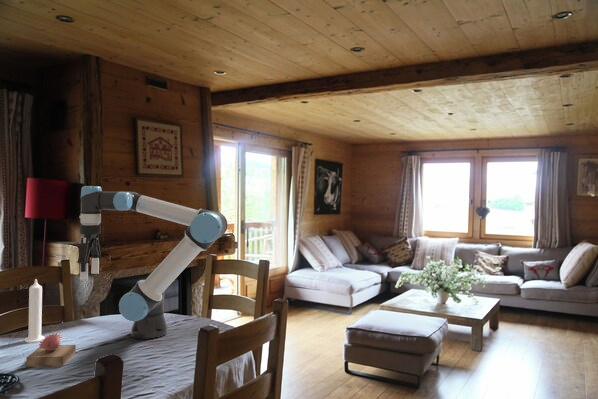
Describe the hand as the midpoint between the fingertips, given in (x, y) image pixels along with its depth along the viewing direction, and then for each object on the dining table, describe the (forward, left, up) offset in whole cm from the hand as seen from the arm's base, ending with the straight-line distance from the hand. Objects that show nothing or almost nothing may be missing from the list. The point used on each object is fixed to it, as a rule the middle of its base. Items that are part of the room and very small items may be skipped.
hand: (89, 276), depth 180 cm
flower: (+7, +19, -23) cm, 31 cm away
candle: (+22, -4, -27) cm, 35 cm away
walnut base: (+6, +19, -27) cm, 34 cm away
